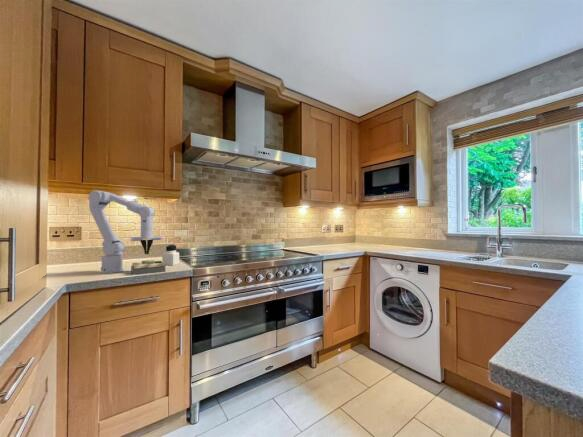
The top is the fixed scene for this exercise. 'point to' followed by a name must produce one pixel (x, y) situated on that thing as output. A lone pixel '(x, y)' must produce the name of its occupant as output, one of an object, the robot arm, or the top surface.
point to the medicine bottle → (170, 255)
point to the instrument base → (147, 270)
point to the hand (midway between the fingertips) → (146, 254)
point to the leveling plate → (147, 264)
